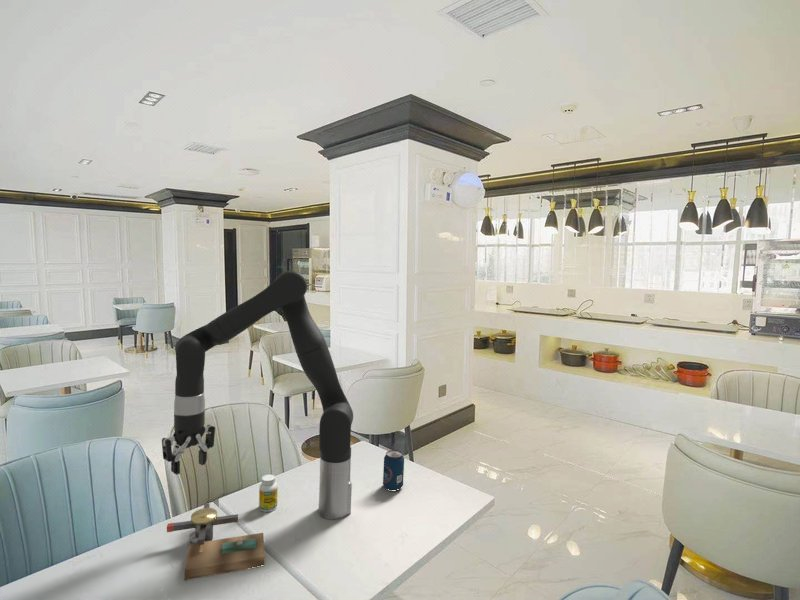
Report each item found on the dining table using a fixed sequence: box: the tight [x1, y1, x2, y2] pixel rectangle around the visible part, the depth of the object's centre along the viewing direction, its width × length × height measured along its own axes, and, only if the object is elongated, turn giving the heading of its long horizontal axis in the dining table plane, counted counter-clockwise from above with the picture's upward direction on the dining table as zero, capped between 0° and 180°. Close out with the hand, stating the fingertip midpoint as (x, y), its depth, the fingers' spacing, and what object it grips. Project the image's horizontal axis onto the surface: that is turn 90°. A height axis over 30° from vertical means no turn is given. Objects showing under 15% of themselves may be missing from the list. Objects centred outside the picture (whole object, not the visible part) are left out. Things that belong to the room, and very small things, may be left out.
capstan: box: [166, 502, 239, 545], centre depth 117 cm, size 17×17×7 cm
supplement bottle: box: [258, 474, 279, 513], centre depth 134 cm, size 5×5×10 cm
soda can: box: [382, 449, 405, 490], centre depth 149 cm, size 7×7×12 cm
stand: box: [183, 532, 266, 581], centre depth 110 cm, size 18×10×5 cm, turn 109°
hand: (189, 468), depth 120 cm, fingers open, 6 cm apart
